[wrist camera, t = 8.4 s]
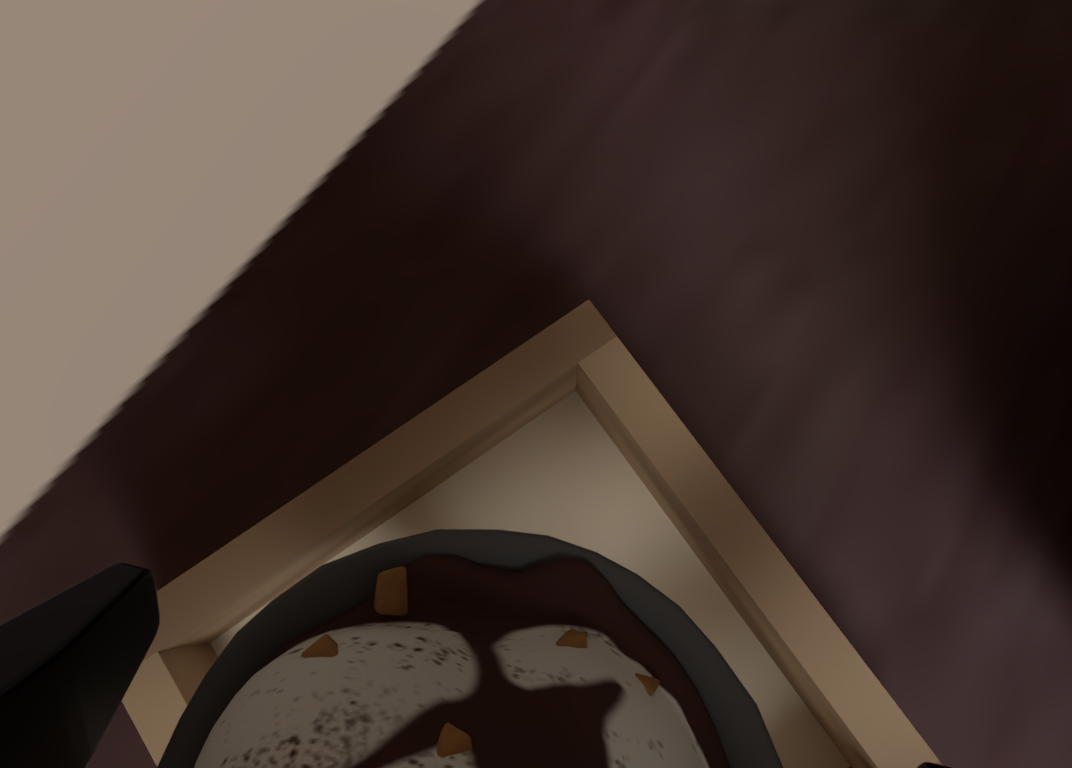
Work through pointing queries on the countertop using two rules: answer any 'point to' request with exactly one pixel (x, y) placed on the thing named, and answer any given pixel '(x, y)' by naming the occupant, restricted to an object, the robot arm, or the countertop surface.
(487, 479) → the cream square tray
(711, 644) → the sundae
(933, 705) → the countertop surface
